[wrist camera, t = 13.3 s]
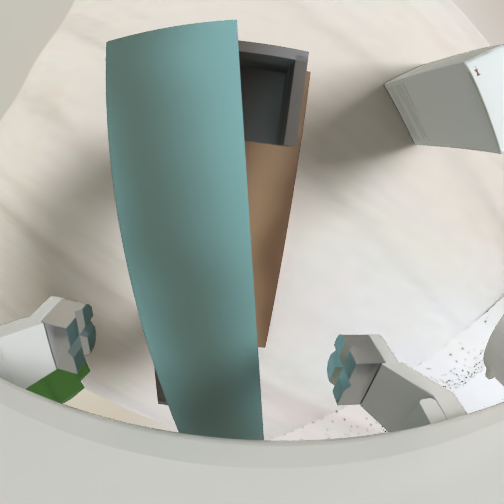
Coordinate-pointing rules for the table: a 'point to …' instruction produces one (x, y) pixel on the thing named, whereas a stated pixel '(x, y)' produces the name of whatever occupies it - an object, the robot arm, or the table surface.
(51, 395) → the decorative tree
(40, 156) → the table surface
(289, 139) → the bracket stand
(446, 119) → the supplement box
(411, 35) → the table surface
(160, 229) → the teal rail
